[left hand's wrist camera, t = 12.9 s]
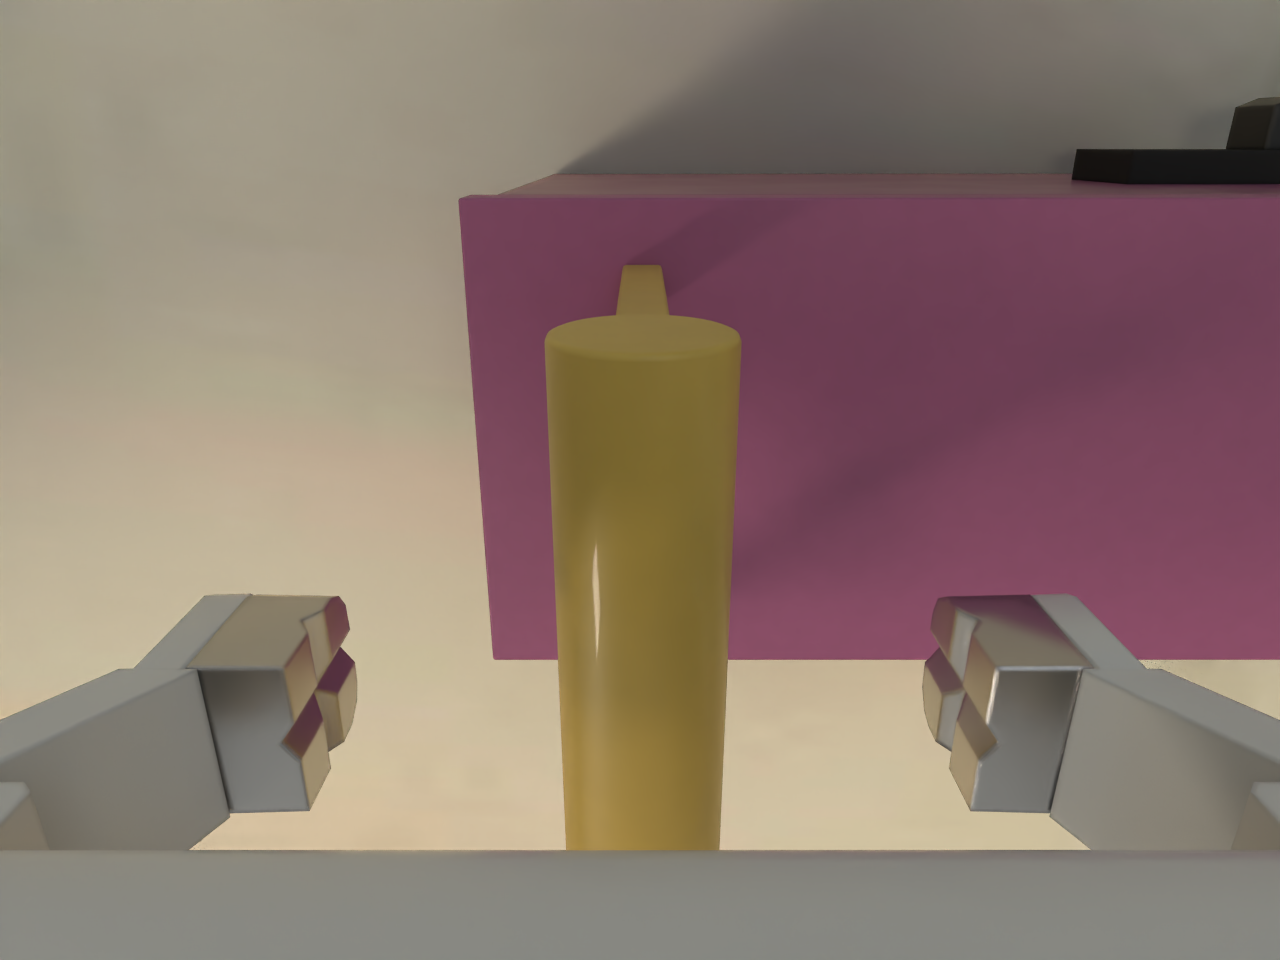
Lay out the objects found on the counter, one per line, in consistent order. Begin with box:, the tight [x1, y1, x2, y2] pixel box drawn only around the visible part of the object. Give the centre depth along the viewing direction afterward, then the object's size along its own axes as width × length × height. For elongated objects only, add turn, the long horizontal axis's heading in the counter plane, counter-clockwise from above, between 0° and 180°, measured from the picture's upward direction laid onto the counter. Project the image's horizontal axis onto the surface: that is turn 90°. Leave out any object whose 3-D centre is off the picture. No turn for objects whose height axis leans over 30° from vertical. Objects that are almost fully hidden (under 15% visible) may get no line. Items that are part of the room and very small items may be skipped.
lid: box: [459, 194, 1280, 850], centre depth 13 cm, size 18×10×9 cm, turn 90°
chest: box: [498, 174, 1280, 195], centre depth 23 cm, size 18×10×11 cm, turn 90°
